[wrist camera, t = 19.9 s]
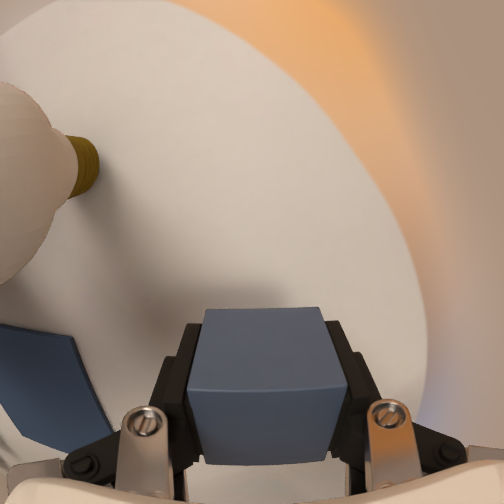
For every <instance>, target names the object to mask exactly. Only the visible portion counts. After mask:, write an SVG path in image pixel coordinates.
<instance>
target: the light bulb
mask: <svg viewBox="0 0 504 504" xmlns="http://www.w3.org/2000/svg"><path fill="white" fill-rule="evenodd" d="M98 171H99V157H98V153H97V150H96V149H95V147H94V145H93V144H92V143H91V142H90V141H89V140H87V139H85V138H82V137H75V136H67V135H63V134H62V133H61V132H60V131H58V130H56V129H54V128H52V126H51V124H50V122H49V120H48V118H47V116H46V115H45V113H44V112H43V110H42V109H41V108H40V106H39V105H38V104H37V103H36V102H35V101H34V100H33V99H32V98H31V97H30V96H29V95H28V94H26V93H25V92H24V91H22V90H20V89H18V88H16V87H14V86H13V85H10V84H8V83H4V82H0V285H1V284H3V283H4V282H6V281H7V280H9V279H10V278H12V277H13V276H15V275H16V274H17V273H18V272H19V271H20V270H21V269H22V268H23V267H24V266H25V265H26V264H27V263H28V262H29V261H30V260H31V259H32V258H33V256H34V255H35V253H36V252H37V250H38V249H39V247H40V246H41V244H42V243H43V241H44V239H45V237H46V235H47V233H48V231H49V228H50V226H51V224H52V221H53V218H54V215H55V212H56V210H57V209H58V208H59V207H61V206H62V205H63V204H64V203H65V201H66V200H68V199H70V198H72V197H75V196H77V195H80V194H82V193H84V192H86V191H87V190H89V189H90V188H91V186H92V185H93V184H94V182H95V180H96V178H97V175H98Z"/></svg>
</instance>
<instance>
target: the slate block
mask: <svg viewBox="0 0 504 504" xmlns="http://www.w3.org/2000/svg"><path fill="white" fill-rule="evenodd" d="M347 387H348V384H347V381H346V378H345V375H344V373H343V370H342V367H341V364H340V362H339V359H338V356H337V353H336V351H335V348H334V345H333V343H332V340H331V337H330V335H329V332H328V329H327V327H326V324H325V322H324V319H323V316H322V314H321V311H320V309H319V307H303V308H268V309H207V310H206V312H205V316H204V320H203V324H202V328H201V332H200V336H199V340H198V344H197V348H196V352H195V356H194V361H193V365H192V369H191V373H190V377H189V382H188V386H187V393H188V397H189V402H190V405H191V407H192V411H193V415H194V419H195V423H196V427H197V431H198V435H199V439H200V443H201V446H202V450H203V453H204V455H203V456H204V459H205V462H206V464H212V465H245V466H249V465H282V464H297V463H308V462H317V461H324V460H325V457H326V455H327V452H328V451H327V450H328V448H329V445H330V442H331V439H332V436H333V432H334V429H335V426H336V423H337V420H338V416H339V413H340V410H341V406H342V403H343V401H344V397H345V394H346V390H347Z"/></svg>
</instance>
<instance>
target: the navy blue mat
mask: <svg viewBox="0 0 504 504" xmlns="http://www.w3.org/2000/svg"><path fill="white" fill-rule="evenodd" d="M0 404H1V405H2V407H3V408H4V410H5V411H6V413H7V414H8V416H9V417H10V419H11V420H12V422H13V423H14V425H15V426H16V427H17V429H18V430H19V432H20V433H21V434H22V436H24V437H26V438H29V439H31V440H33V441H36V442H38V443H41V444H43V445H46V446H48V447H51V448H54V449H56V450H59V451H62V452H65V453H68V454H70V453H71V452H73V451H74V450H76V449H79V448H81V447H84V446H86V445H88V444H90V443H93V442H95V441H97V440H100V439H102V438H104V437H106V436H108V435H110V434H113V433H114V432H113V430H112V428H111V426H110V424H109V422H108V420H107V418H106V416H105V414H104V412H103V410H102V408H101V406H100V404H99V402H98V400H97V397H96V395H95V393H94V391H93V388H92V386H91V384H90V381H89V379H88V377H87V374H86V372H85V369H84V367H83V364H82V362H81V359H80V357H79V354H78V351H77V348H76V346H75V343H74V340H73V337H71V336H64V335H57V334H51V333H44V332H38V331H33V330H27V329H22V328H17V327H12V326H7V325H2V324H0Z"/></svg>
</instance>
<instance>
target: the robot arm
mask: <svg viewBox="0 0 504 504" xmlns="http://www.w3.org/2000/svg"><path fill="white" fill-rule="evenodd" d="M324 322H325V324H326V327H327V329H328V332H329V335H330V337H331V340H332V343H333V345H334V348H335V351H336V353H337V356H338V359H339V362H340V364H341V367H342V370H343V373H344V375H345V378H346V381H347V384H348V387H347V390H346V394H345V397H344V401H343V403H342V406H341V410H340V413H339V416H338V420H337V423H336V426H335V429H334V432H333V436H332V439H331V442H330V445H329V448H328V450H327V451H331V455H332V458H338V457H339V458H340V460H341V461H343V462H345V463H346V466H345V497H342V498H335V499H329V500H322V501H314V502H305V503H295V504H504V449H497V448H487V447H479V446H472V445H469V446H468V447H467V448H465V447H464V446H463V444H462V443H461V442H460V441H458V440H457V439H455V438H452V437H449V436H447V435H444V434H441V433H439V432H436V431H434V430H431V429H428V428H426V427H423V426H421V425H419V424H416V423H414V422H412V421H411V416H410V413H409V411H408V409H407V407H406V406H405V405H404V404H402V403H401V402H399V401H396V400H393V399H382V398H381V396H380V394H379V391H378V389H377V387H376V385H375V382H374V380H373V378H372V376H371V373H370V371H369V369H368V367H367V365H366V363H365V360H364V358H363V356H362V354H361V353H360V352H352V349H351V347H350V345H349V342H348V340H347V338H346V336H345V333H344V331H343V329H342V327H341V325H340V322H339V321H338V320H337V321H324ZM201 328H202V324H192V323H188V324H187V325H186V327H185V331H184V334H183V337H182V340H181V343H180V346H179V349H178V352H177V355H176V357H175V356H166V357H165V359H164V362H163V365H162V367H161V370H160V373H159V376H158V379H157V382H156V384H155V387H154V390H153V393H152V396H151V399H150V402H149V405H148V406H139V407H136V408H134V409H132V410H130V411H129V412H128V413H127V414H126V415H125V416H124V418H123V421H122V426H121V430H119V431H117V432H115V433H113V434H110V435H108V436H106V437H104V438H102V439H100V440H97V441H95V442H93V443H90V444H88V445H86V446H84V447H81V448H79V449H76V450H74V451H73V452H71V453H70V454H69V455H68V456H67V457H66V459H65V460H60V458H55V459H50V460H44V461H38V462H31V463H24V464H17V465H14V466H13V467H11V468H10V469H9V471H8V473H7V488H8V496H9V497H8V499H7V500H6V502H5V504H201V503H191V502H189V496H188V486H187V475H186V469H187V468H188V467H190V466H191V465H193V462H199V456H200V455H204V453H203V450H202V446H201V443H200V439H199V435H198V431H197V427H196V423H195V419H194V415H193V411H192V407H191V405H190V402H189V397H188V393H187V386H188V382H189V377H190V373H191V369H192V365H193V361H194V356H195V352H196V348H197V344H198V340H199V336H200V332H201Z"/></svg>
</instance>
